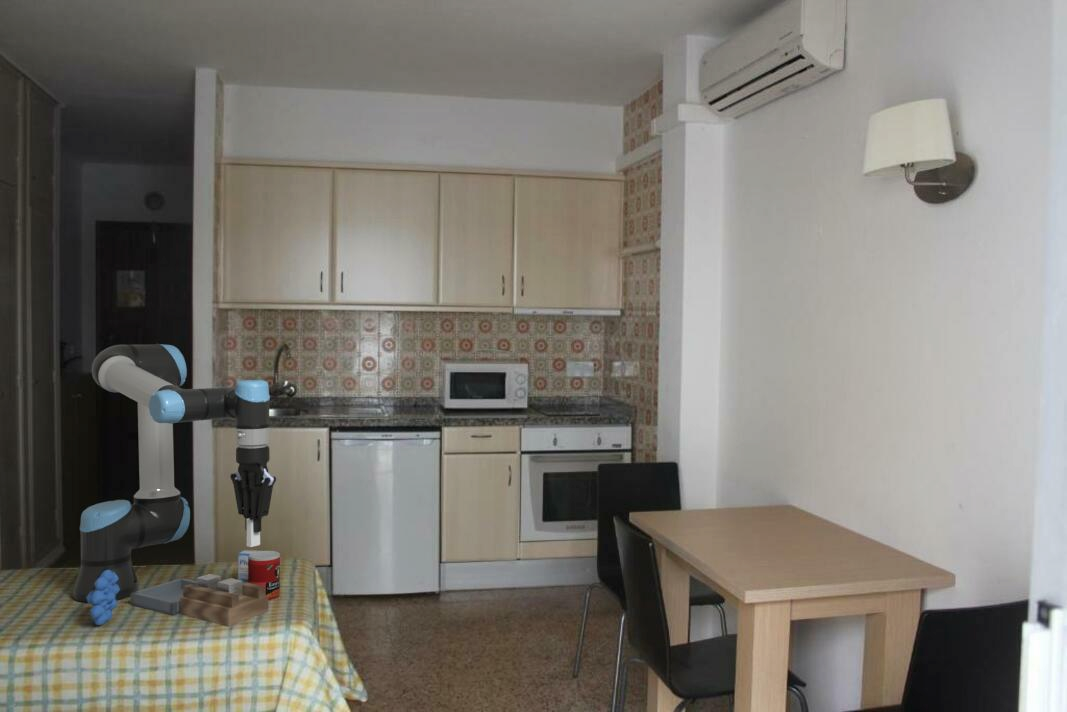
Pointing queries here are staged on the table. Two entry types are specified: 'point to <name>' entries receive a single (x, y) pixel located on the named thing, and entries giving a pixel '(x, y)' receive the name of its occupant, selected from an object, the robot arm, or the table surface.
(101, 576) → the grapes
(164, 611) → the tray
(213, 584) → the grey stone cube
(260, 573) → the canned food
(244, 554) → the medicine box
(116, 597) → the robot arm
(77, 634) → the table surface
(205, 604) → the slot block
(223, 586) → the grey cube
